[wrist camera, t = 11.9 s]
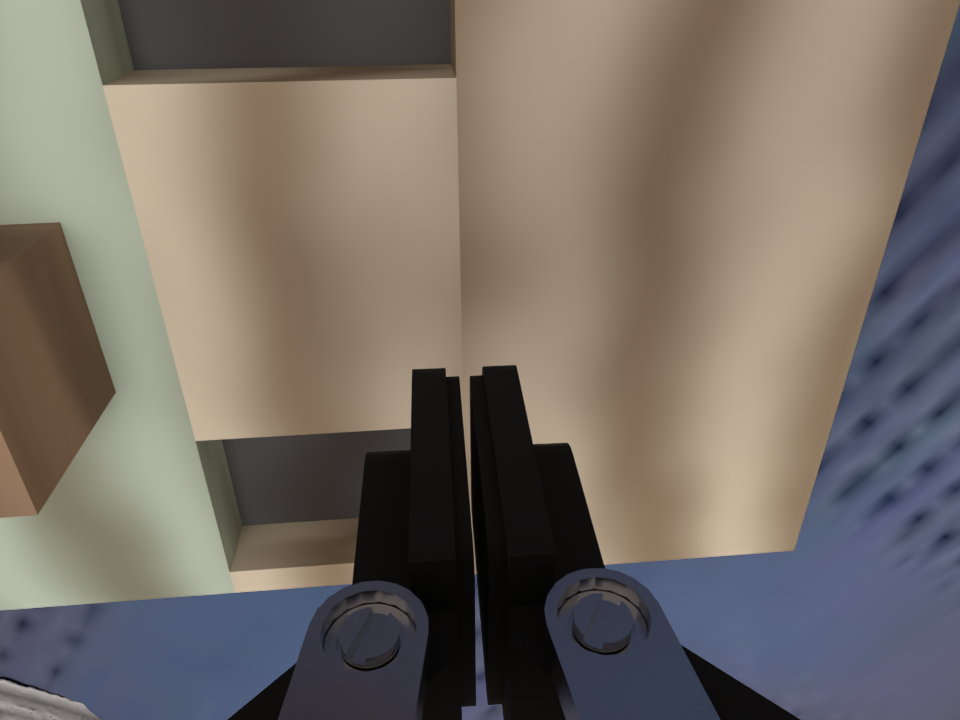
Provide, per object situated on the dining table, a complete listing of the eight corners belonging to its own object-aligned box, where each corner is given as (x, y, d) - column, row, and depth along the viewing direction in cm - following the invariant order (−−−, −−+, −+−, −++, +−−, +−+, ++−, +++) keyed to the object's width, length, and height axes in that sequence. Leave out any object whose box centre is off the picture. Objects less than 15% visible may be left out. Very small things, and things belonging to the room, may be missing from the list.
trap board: (961, -251, 16) (1045, -279, 14) (764, 503, 28) (793, 550, 26) (-356, -271, 14) (-490, -308, 12) (25, 555, 26) (-9, 611, 24)
